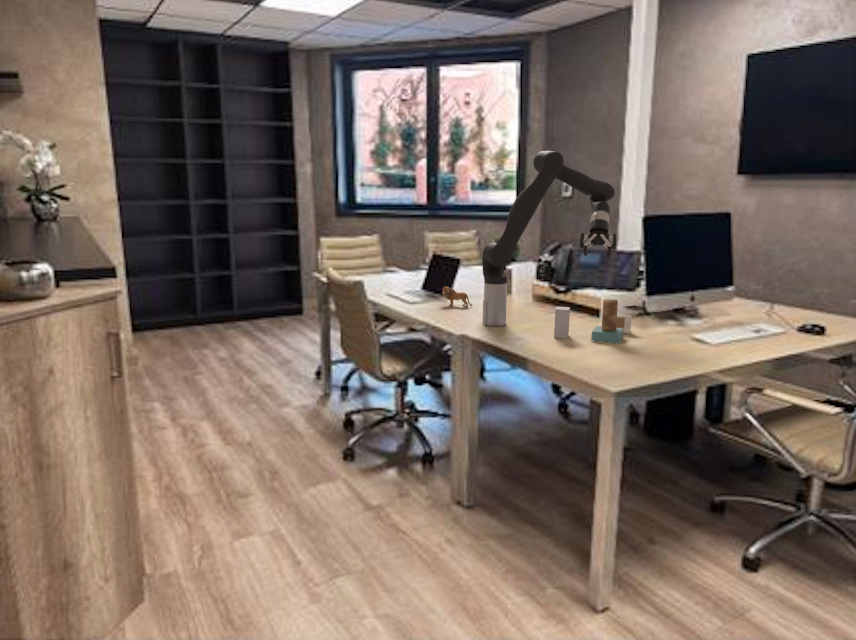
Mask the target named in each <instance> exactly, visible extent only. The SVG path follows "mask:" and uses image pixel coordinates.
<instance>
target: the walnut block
mask: <svg viewBox="0 0 856 640" xmlns="http://www.w3.org/2000/svg"><path fill="white" fill-rule="evenodd" d="M618 305H619V301H618V299H603V300H602V313H601V314H602V315H601V326H602V331H616V326H617V315H618V309H619V308H618Z"/></svg>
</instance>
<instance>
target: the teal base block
mask: <svg viewBox="0 0 856 640" xmlns="http://www.w3.org/2000/svg"><path fill="white" fill-rule="evenodd" d="M623 335H624V333H623V328H616V331H602V325H601V326H600V325H596V326H595V327H594V328H593V330H592V331H591V337H590V338H591V339H590V341H591V340H594V341H593V342H596V341H603V342H602V343H606V342H611V343H610V344H616V343H618V344H620V343H621V341H622V339H623V338H622V337H623ZM618 344H617V345H618Z"/></svg>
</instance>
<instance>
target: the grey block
mask: <svg viewBox="0 0 856 640" xmlns="http://www.w3.org/2000/svg"><path fill="white" fill-rule="evenodd" d="M570 311H571V307H570V306H569V307H568V306H556V307H555V309H554V329H553V338H554V337H558V338H559V339H569V333H570V332H569V331H570V315H571V314H570V313H571V312H570ZM558 338H557V339H558Z"/></svg>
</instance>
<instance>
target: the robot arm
mask: <svg viewBox="0 0 856 640" xmlns="http://www.w3.org/2000/svg"><path fill="white" fill-rule="evenodd" d="M564 159H565V158H564V156H563V154H562V153H561V152H559V151H553V150H542V151H539V152H538V153H537V154H536V155H535V156H534V157H533V162H532V163H533V167H534V170H535V171H536V172H538V173H537V175H536V177H535V178H534V179H533V181H531V183H530V184H528V185H527V187H526V188H524V189H523V190H522V191H521V192H520V193H519V194H518V195H517V197H516V198H515V200H514V202H513V203H512V206H510V209H509V212H508V214H507V221H506V225H505V229H504V231H503V233H502V235H501V237H500V238H499V240H498V241H497V242H489V243H488V244H487V245H485V246H484V248H483V251H482V257H481V258H482V260H481V261H482V275H483V283H484V284H483V286H484V287H483V300H482V323H483V325H484V326H490V327H502V326H505V325H507V299H508V298H507V297H508V294H507V293H508V276H507V274H506V271H505V269H504V267H505V266H506V265H507V264H509V262H510V261H511V259H512V257H513V254H514V253H515V250H516V247H517V245H518V243H519V241H520V239H521V237H522V235H523V234H524V232H525V231H526V228H527V227H528V226H529V223H530V221H532V218H533V216H534V215H535V213H536V211H537V209H538V207H539V206H540V203H541V202H542V201H543V198H544V197H545V195H546V193H547V192H548V190H549V188H550V187H551V185H552V184H553V183H554V181H555V180H558V181H560V182H562V183H564V184H566V185H568V186H570V187H571V188H573V189H575V190H576V191H578V192H579V193H581V194H583V195H585V196H589V203H590V207H591V217H590V220H589V221H590V223H589V233H588V234H585V233H583V232H581V234H580V240H579V248H580V249H583V250H582V251H583V252H582V254H583V256H584V257H587V256H588V249H589V248H590V247H592V246H602V245H603V246H604V248H606V249H607V250H606V251H607V253H606V258H609V257H610V256H612V255H611V254H612V250H616V249H617V234H616V233H614V234H613V235H610V234H609V229H610V204H608V201H610V200H612V199H613V198H614V197H615V195H616V191H615V188H614V187H613V185H611V184H610V183H608V182H605V181H603V180H602V181H601V180H597V179H593V178H592V177H590V176H588V175H587V174H585V173H583V172H581V171H579V170H577V169H576V170H575V169H573V168H571V167H569V166H566V165H564V164H565V162H564V161H565V160H564ZM586 239H587V240H586ZM609 240H610V241H611V242H612V243H610V242H609ZM584 241H586V242H585V243H584Z"/></svg>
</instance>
